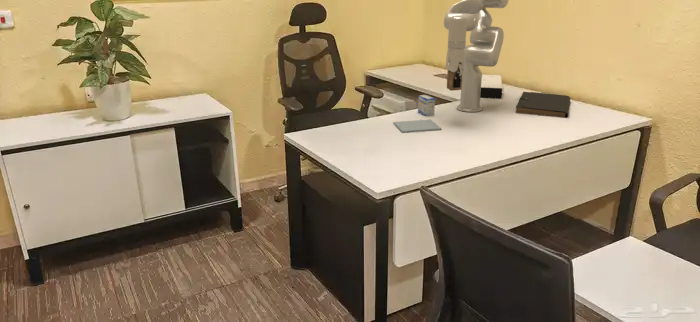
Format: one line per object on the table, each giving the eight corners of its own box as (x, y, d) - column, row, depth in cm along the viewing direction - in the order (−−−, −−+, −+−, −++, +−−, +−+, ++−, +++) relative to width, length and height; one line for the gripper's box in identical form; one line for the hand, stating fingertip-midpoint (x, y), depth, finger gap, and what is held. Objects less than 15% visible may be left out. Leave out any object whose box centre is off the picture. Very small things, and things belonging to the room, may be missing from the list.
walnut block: (446, 87, 241) (447, 70, 238) (457, 87, 241) (458, 69, 238) (450, 90, 236) (451, 72, 233) (461, 89, 237) (462, 72, 234)
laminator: (480, 84, 318) (481, 74, 316) (502, 85, 316) (503, 75, 313) (479, 98, 288) (480, 87, 285) (503, 99, 285) (504, 88, 283)
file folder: (523, 90, 287) (571, 95, 278) (522, 98, 288) (569, 103, 280) (515, 105, 258) (568, 111, 250) (514, 114, 260) (567, 119, 251)
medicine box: (417, 112, 262) (418, 95, 259) (425, 111, 264) (425, 94, 261) (426, 116, 255) (427, 99, 252) (434, 115, 257) (435, 97, 254)
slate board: (393, 123, 245) (393, 122, 245) (430, 121, 248) (430, 119, 248) (402, 132, 232) (402, 131, 232) (441, 130, 235) (441, 128, 235)
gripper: (441, 42, 238) (439, 82, 245) (456, 48, 223) (453, 91, 230) (457, 41, 240) (454, 81, 247) (472, 47, 224) (469, 90, 231)
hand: (454, 85), depth 238 cm, fingers closed on walnut block, 5 cm apart
